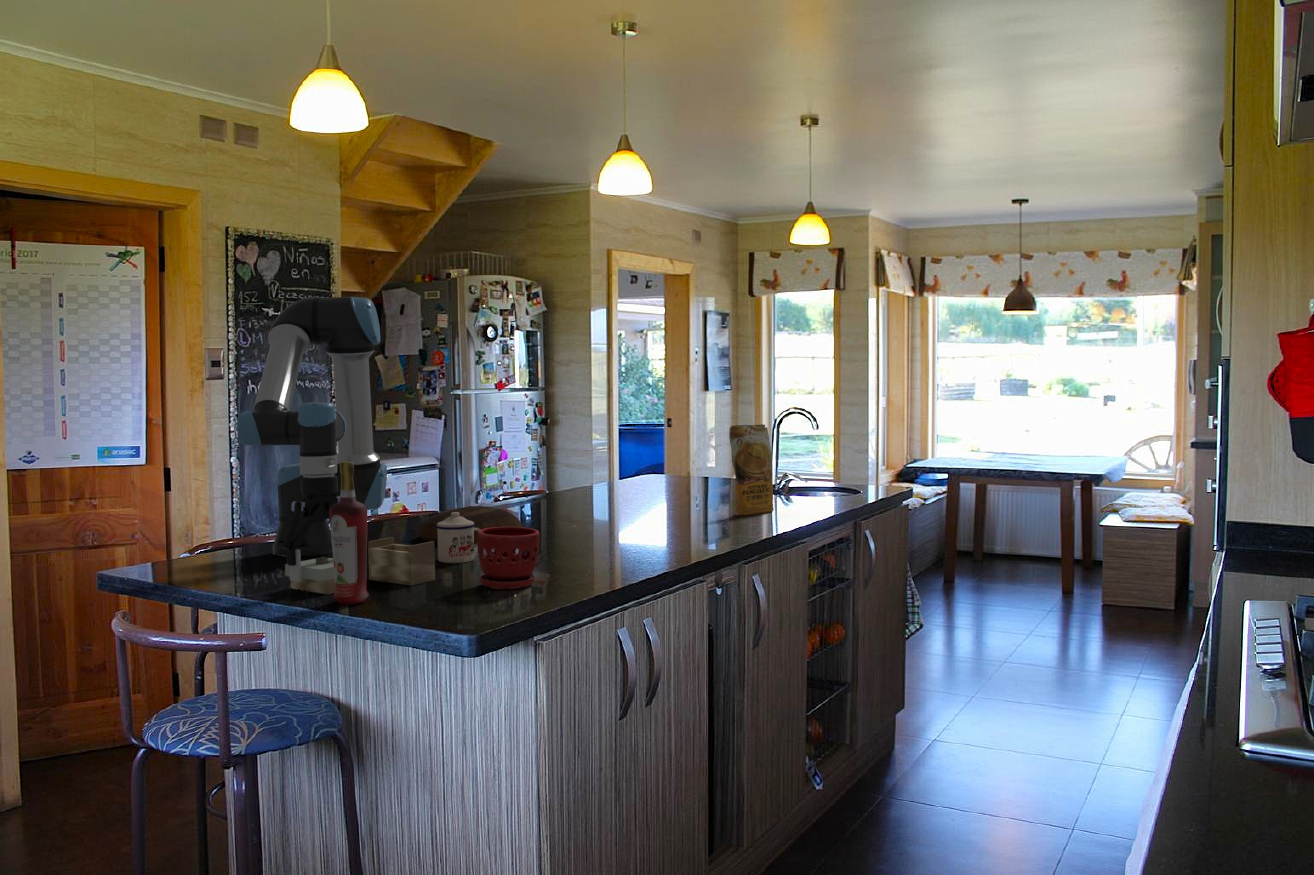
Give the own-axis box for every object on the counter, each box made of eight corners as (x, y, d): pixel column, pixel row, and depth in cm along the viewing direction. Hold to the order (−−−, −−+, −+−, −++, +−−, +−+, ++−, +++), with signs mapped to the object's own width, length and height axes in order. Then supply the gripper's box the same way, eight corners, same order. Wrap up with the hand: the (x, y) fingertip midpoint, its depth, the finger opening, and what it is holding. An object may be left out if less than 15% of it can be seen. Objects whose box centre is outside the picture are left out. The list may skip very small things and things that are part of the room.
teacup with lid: (449, 565, 247) (448, 516, 247) (430, 560, 254) (429, 512, 253) (492, 558, 255) (491, 511, 254) (473, 554, 262) (472, 507, 261)
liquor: (324, 604, 206) (319, 463, 204) (347, 597, 213) (343, 460, 211) (355, 607, 204) (350, 464, 202) (377, 599, 210) (373, 461, 209)
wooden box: (369, 579, 231) (368, 541, 231) (393, 574, 237) (392, 536, 237) (411, 585, 224) (410, 546, 223) (435, 579, 230) (434, 541, 229)
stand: (290, 588, 223) (290, 574, 222) (317, 582, 229) (317, 569, 228) (328, 594, 216) (327, 580, 216) (355, 588, 222) (354, 574, 222)
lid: (285, 575, 221) (284, 559, 221) (323, 568, 229) (323, 552, 229) (321, 581, 215) (320, 564, 215) (359, 572, 223) (358, 557, 223)
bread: (543, 535, 293) (542, 504, 293) (480, 550, 270) (479, 516, 269) (465, 528, 308) (464, 499, 307) (398, 542, 284) (397, 510, 284)
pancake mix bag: (722, 514, 327) (722, 425, 325) (766, 509, 339) (766, 423, 337) (737, 517, 322) (736, 426, 320) (781, 511, 334) (781, 423, 332)
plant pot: (487, 594, 214) (485, 536, 213) (472, 583, 226) (470, 528, 225) (548, 588, 219) (547, 531, 219) (530, 577, 231) (529, 523, 231)
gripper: (280, 482, 208) (284, 587, 210) (376, 471, 229) (379, 567, 231) (256, 480, 212) (260, 583, 214) (353, 469, 233) (356, 563, 235)
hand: (322, 575), depth 222 cm, fingers open, 13 cm apart
